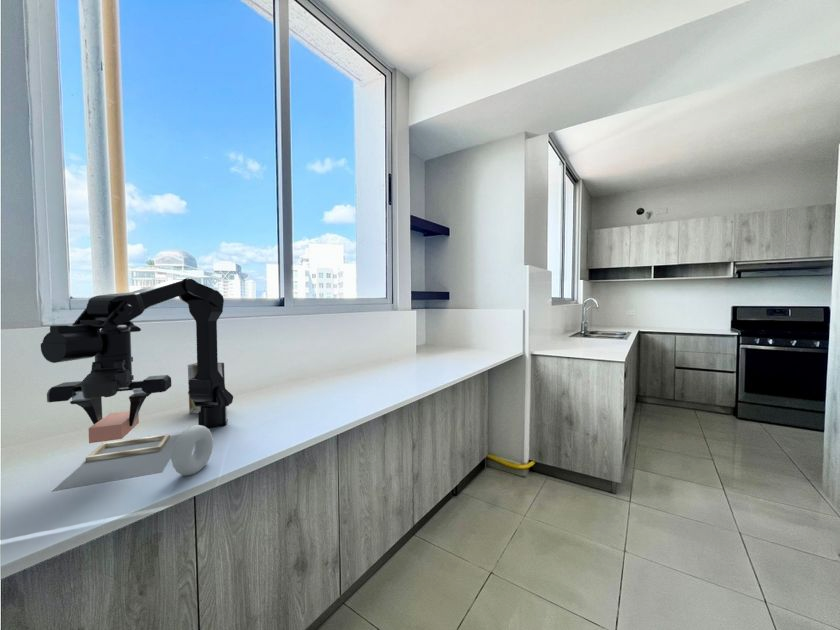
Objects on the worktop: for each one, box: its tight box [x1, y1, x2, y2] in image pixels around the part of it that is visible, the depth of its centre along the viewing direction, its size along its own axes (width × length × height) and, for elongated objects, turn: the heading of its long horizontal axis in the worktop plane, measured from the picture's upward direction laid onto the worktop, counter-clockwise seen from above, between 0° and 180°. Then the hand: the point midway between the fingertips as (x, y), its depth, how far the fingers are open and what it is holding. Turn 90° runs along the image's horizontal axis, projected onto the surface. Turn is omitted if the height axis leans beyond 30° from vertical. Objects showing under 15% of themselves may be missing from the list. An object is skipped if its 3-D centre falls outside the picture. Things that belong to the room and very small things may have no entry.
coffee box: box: [187, 362, 226, 414], centre depth 112 cm, size 9×6×16 cm
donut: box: [171, 424, 214, 476], centre depth 71 cm, size 10×4×10 cm, turn 178°
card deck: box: [88, 410, 140, 444], centre depth 71 cm, size 5×10×3 cm, turn 25°
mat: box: [51, 433, 182, 492], centre depth 77 cm, size 17×23×1 cm
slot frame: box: [85, 433, 171, 462], centre depth 81 cm, size 14×9×1 cm, turn 115°
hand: (115, 427), depth 71 cm, fingers closed on card deck, 5 cm apart
